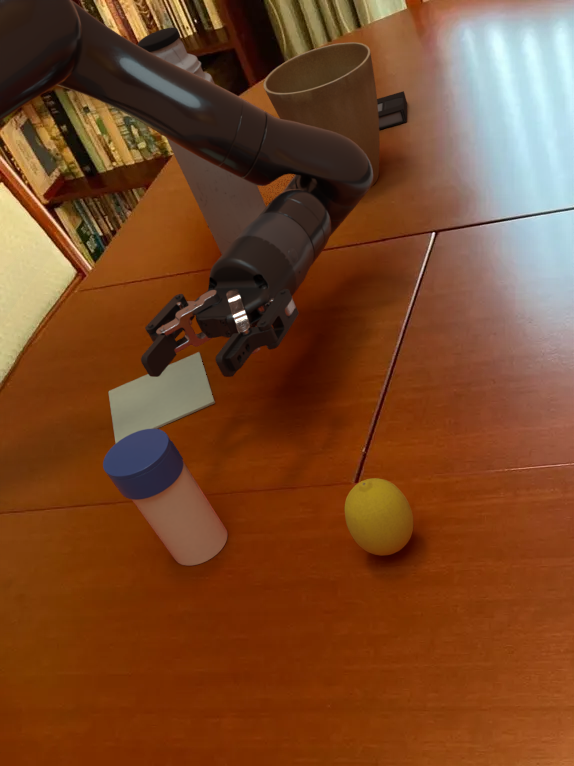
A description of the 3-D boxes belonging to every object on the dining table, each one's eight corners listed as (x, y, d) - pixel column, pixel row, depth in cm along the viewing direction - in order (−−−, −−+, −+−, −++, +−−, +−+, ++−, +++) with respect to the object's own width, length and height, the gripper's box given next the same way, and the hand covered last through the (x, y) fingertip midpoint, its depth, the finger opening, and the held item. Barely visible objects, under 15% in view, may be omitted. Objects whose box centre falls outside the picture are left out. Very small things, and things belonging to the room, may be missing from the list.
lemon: (354, 547, 78) (322, 482, 73) (407, 517, 79) (380, 450, 73) (378, 584, 75) (346, 518, 69) (434, 552, 75) (408, 484, 70)
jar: (169, 571, 83) (103, 482, 74) (177, 530, 86) (115, 441, 78) (225, 557, 82) (165, 466, 74) (230, 517, 86) (173, 425, 77)
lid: (178, 442, 80) (163, 418, 78) (190, 479, 76) (174, 454, 74) (115, 472, 79) (99, 448, 77) (124, 510, 75) (107, 486, 73)
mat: (116, 446, 99) (115, 444, 99) (109, 393, 107) (108, 391, 107) (215, 403, 100) (214, 401, 99) (200, 353, 108) (199, 351, 108)
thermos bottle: (220, 268, 122) (112, 47, 101) (266, 239, 124) (170, 17, 103) (247, 283, 117) (140, 53, 96) (295, 253, 119) (200, 22, 98)
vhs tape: (407, 122, 138) (403, 109, 137) (321, 147, 141) (316, 134, 139) (407, 104, 143) (403, 91, 142) (324, 128, 146) (319, 115, 144)
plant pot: (291, 215, 127) (244, 99, 115) (331, 164, 135) (291, 50, 123) (383, 206, 121) (343, 83, 109) (418, 153, 129) (385, 33, 118)
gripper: (337, 299, 89) (265, 403, 80) (223, 303, 95) (144, 401, 86) (309, 229, 83) (229, 332, 74) (190, 238, 89) (103, 335, 80)
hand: (184, 369), depth 80 cm, fingers open, 8 cm apart
